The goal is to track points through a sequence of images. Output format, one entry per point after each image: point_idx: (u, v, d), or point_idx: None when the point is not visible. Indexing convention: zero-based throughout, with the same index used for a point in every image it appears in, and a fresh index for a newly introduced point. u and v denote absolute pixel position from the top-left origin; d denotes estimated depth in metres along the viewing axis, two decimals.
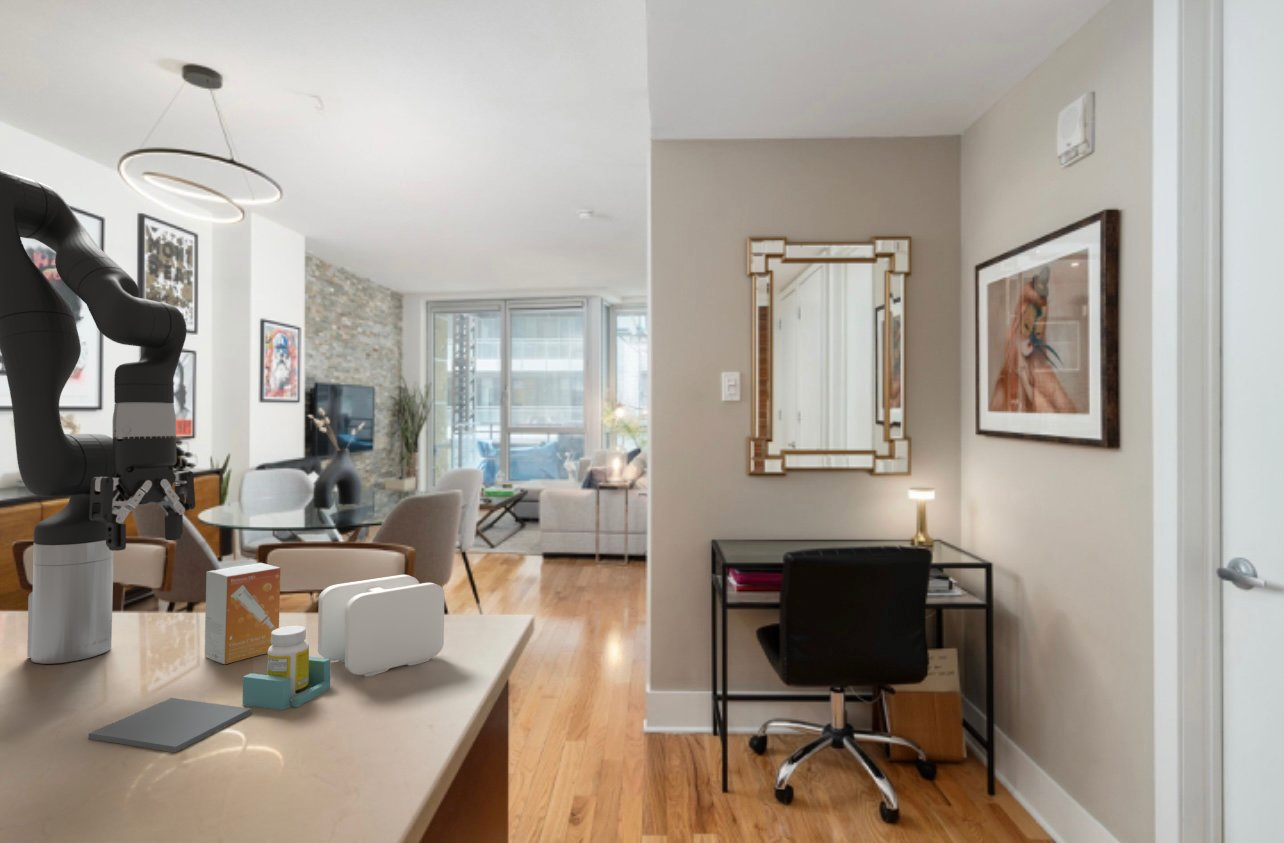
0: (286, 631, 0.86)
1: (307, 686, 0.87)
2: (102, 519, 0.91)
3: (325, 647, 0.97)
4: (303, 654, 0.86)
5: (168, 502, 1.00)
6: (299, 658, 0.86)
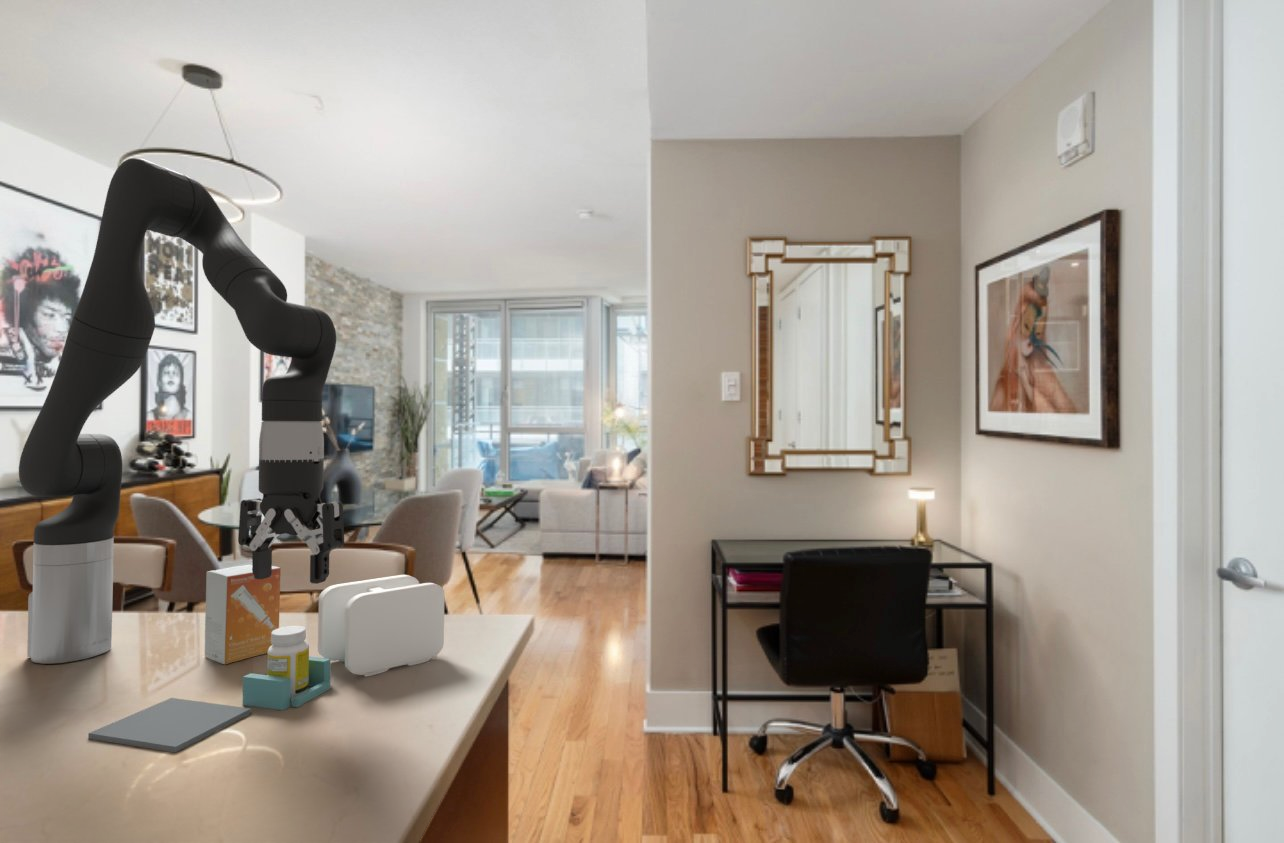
0: (286, 631, 0.86)
1: (307, 686, 0.87)
2: (341, 546, 0.86)
3: (325, 647, 0.97)
4: (303, 654, 0.86)
5: None
6: (299, 658, 0.86)
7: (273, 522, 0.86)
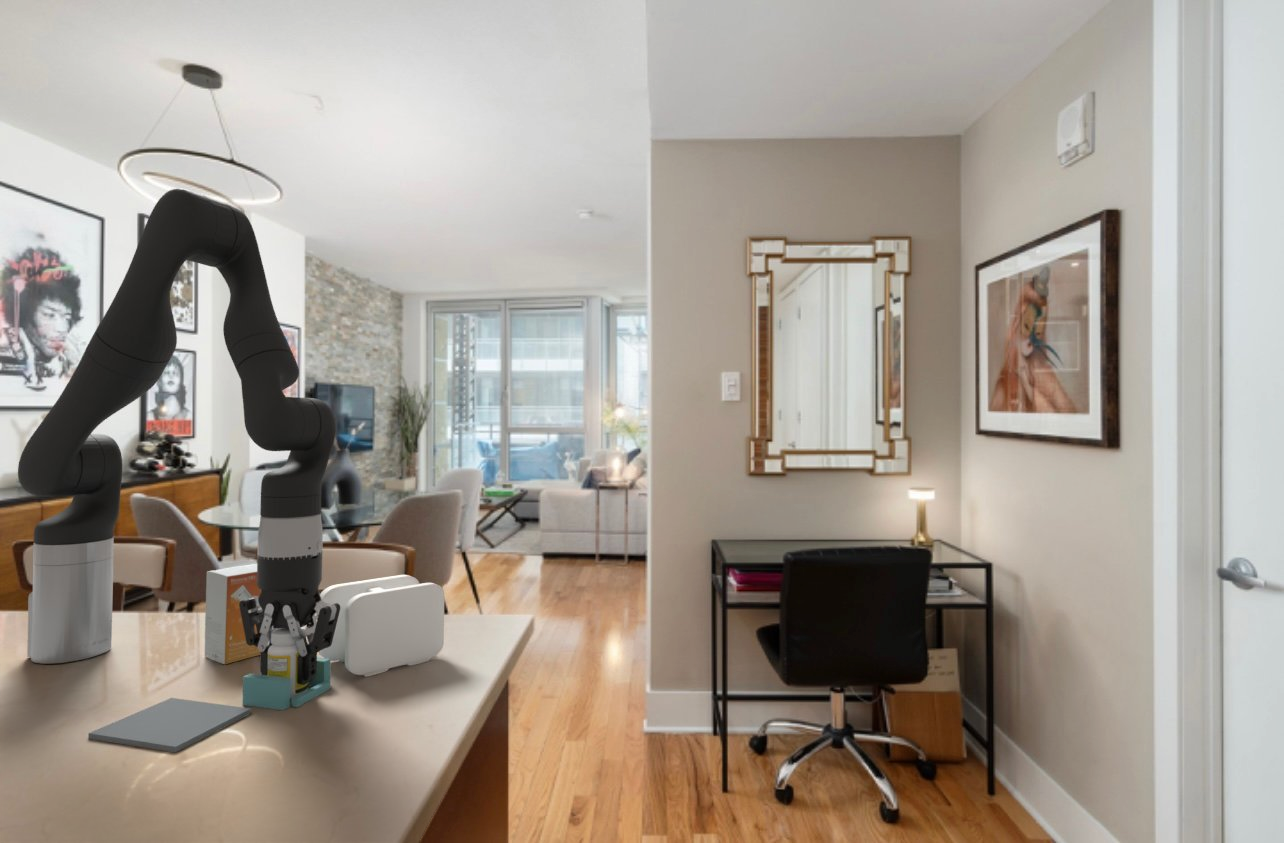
0: (286, 631, 0.86)
1: (307, 686, 0.87)
2: (328, 646, 0.86)
3: None
4: None
5: None
6: None
7: (274, 617, 0.86)
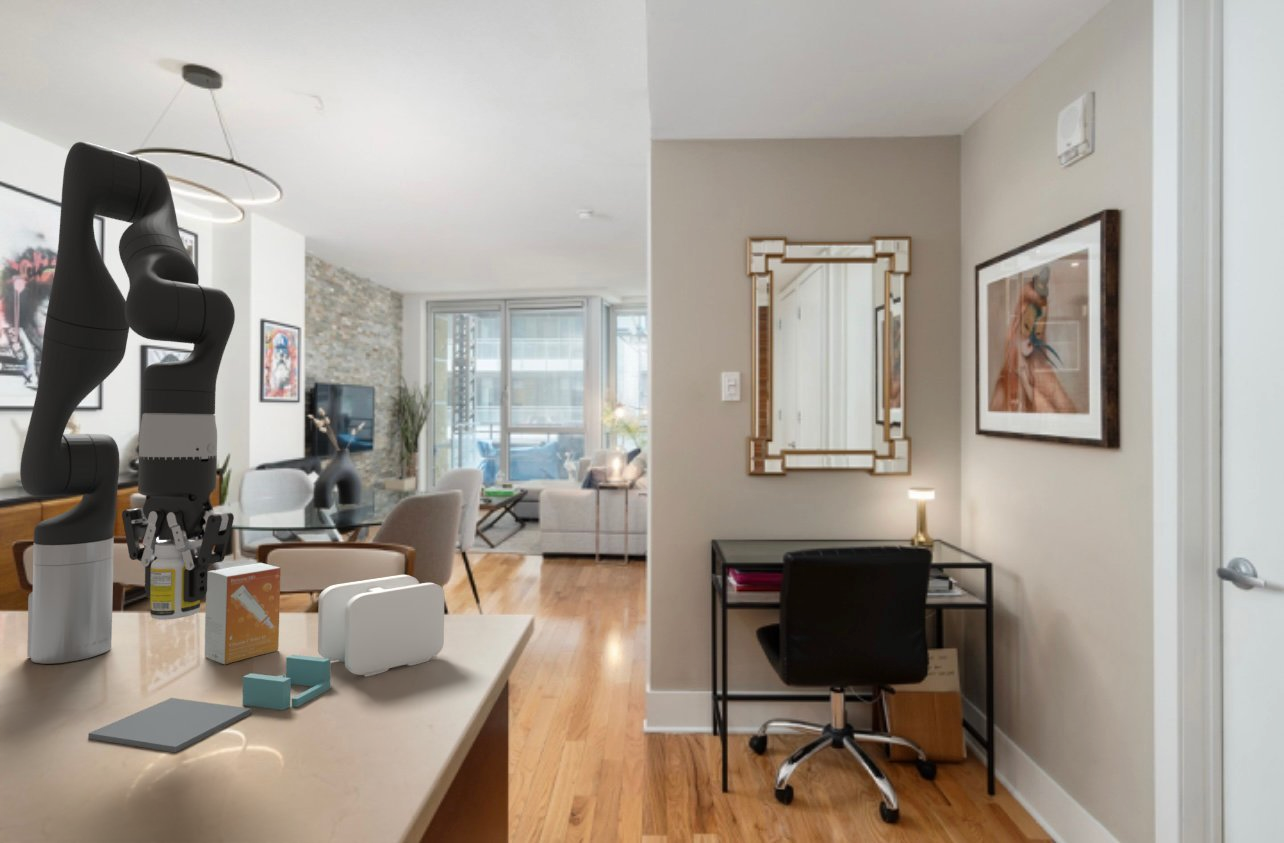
0: (173, 543, 0.77)
1: (197, 605, 0.78)
2: (220, 560, 0.77)
3: (325, 647, 0.97)
4: None
5: None
6: None
7: (159, 527, 0.77)
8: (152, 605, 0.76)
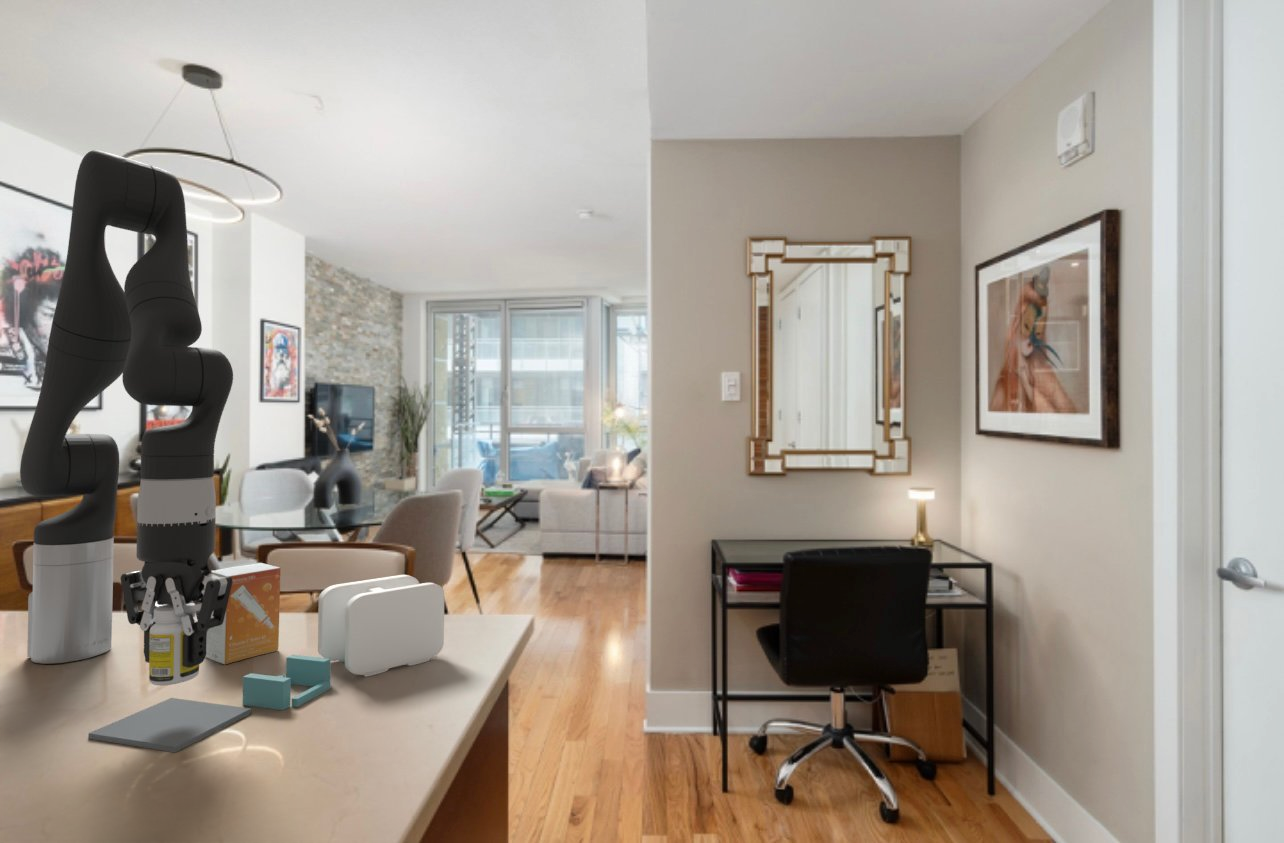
0: (172, 607, 0.77)
1: (196, 669, 0.78)
2: (219, 624, 0.77)
3: (325, 647, 0.97)
4: None
5: None
6: None
7: (158, 592, 0.76)
8: (151, 671, 0.75)
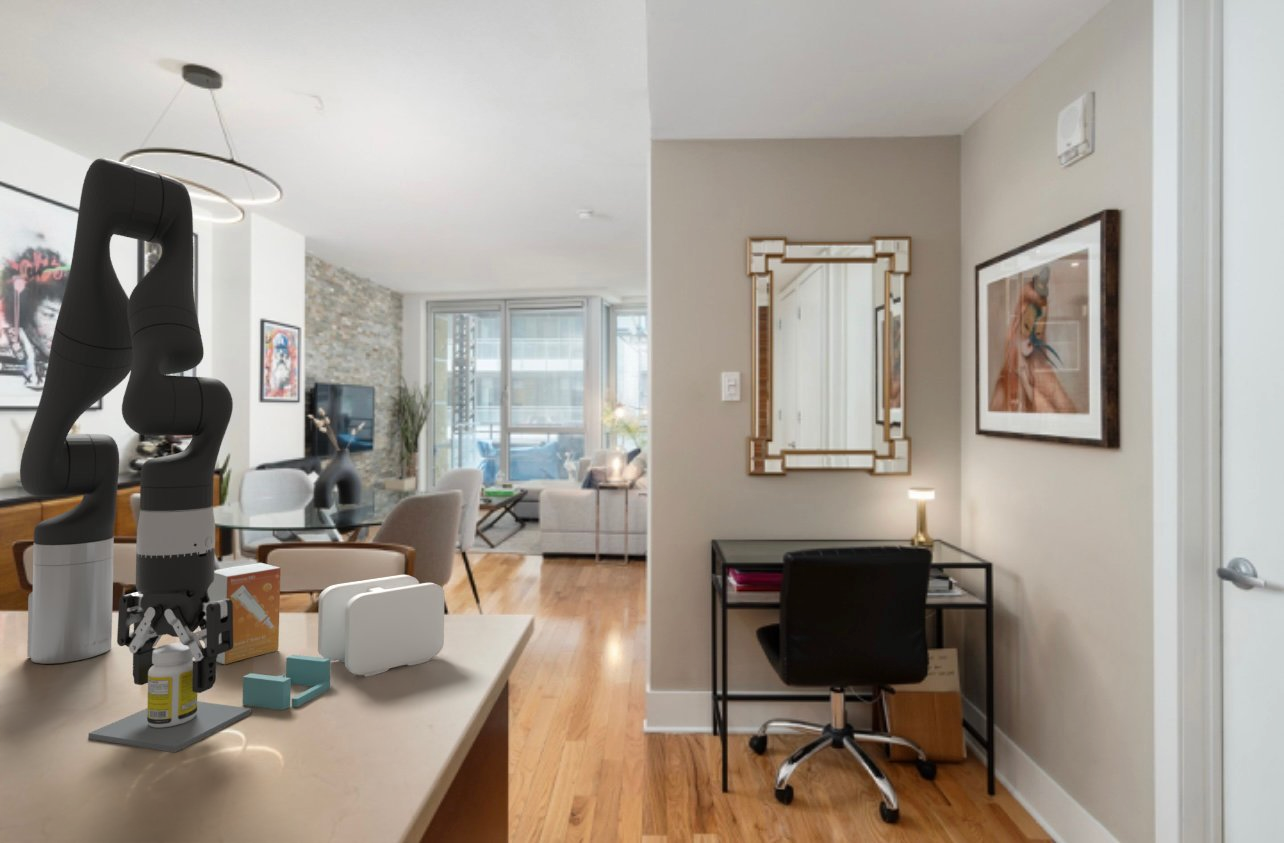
0: (170, 649, 0.77)
1: (194, 710, 0.78)
2: (229, 649, 0.77)
3: (325, 647, 0.97)
4: (188, 675, 0.77)
5: None
6: (184, 679, 0.76)
7: (154, 622, 0.77)
8: (149, 713, 0.75)
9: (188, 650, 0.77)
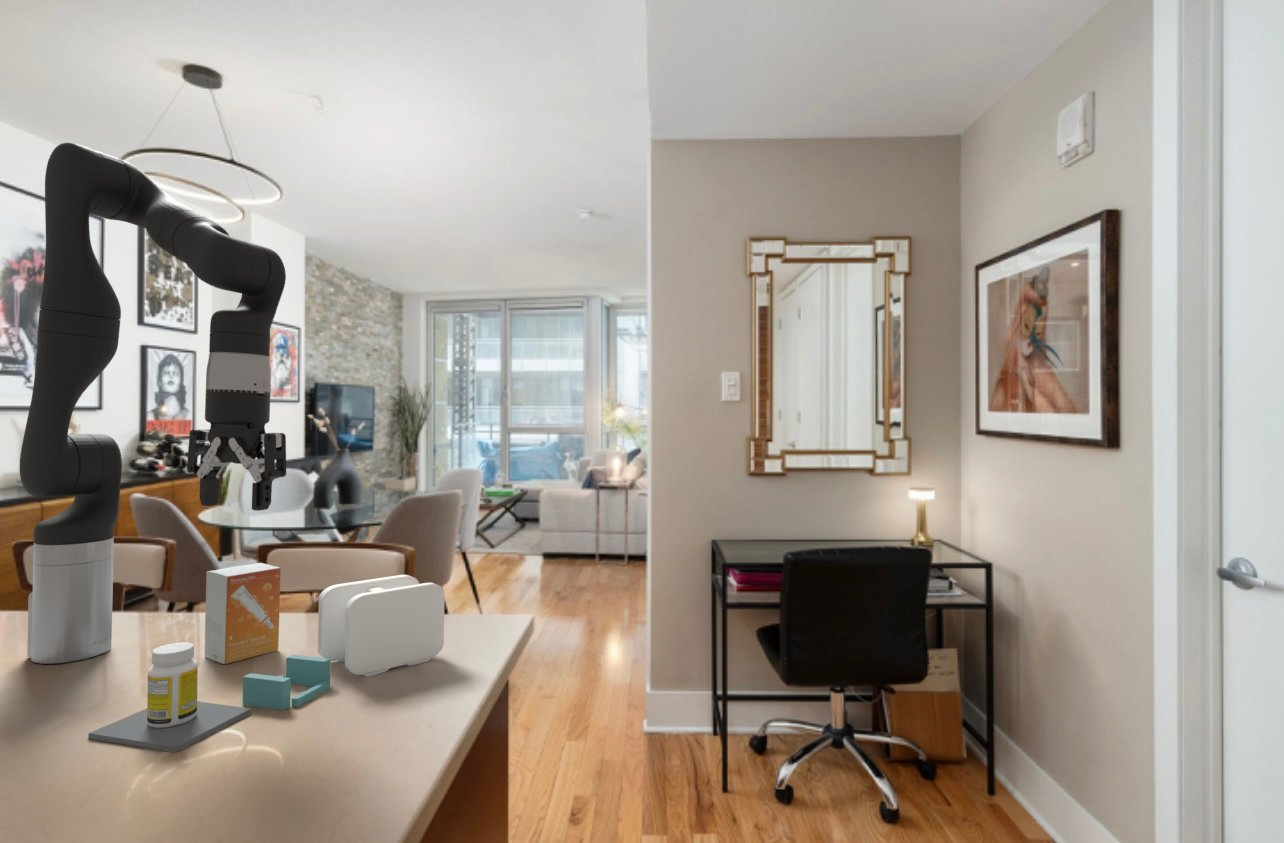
0: (170, 649, 0.77)
1: (194, 710, 0.78)
2: (283, 475, 0.89)
3: (325, 647, 0.97)
4: (188, 675, 0.77)
5: (225, 462, 0.92)
6: (184, 679, 0.76)
7: (219, 451, 0.89)
8: (149, 713, 0.75)
9: (188, 650, 0.77)
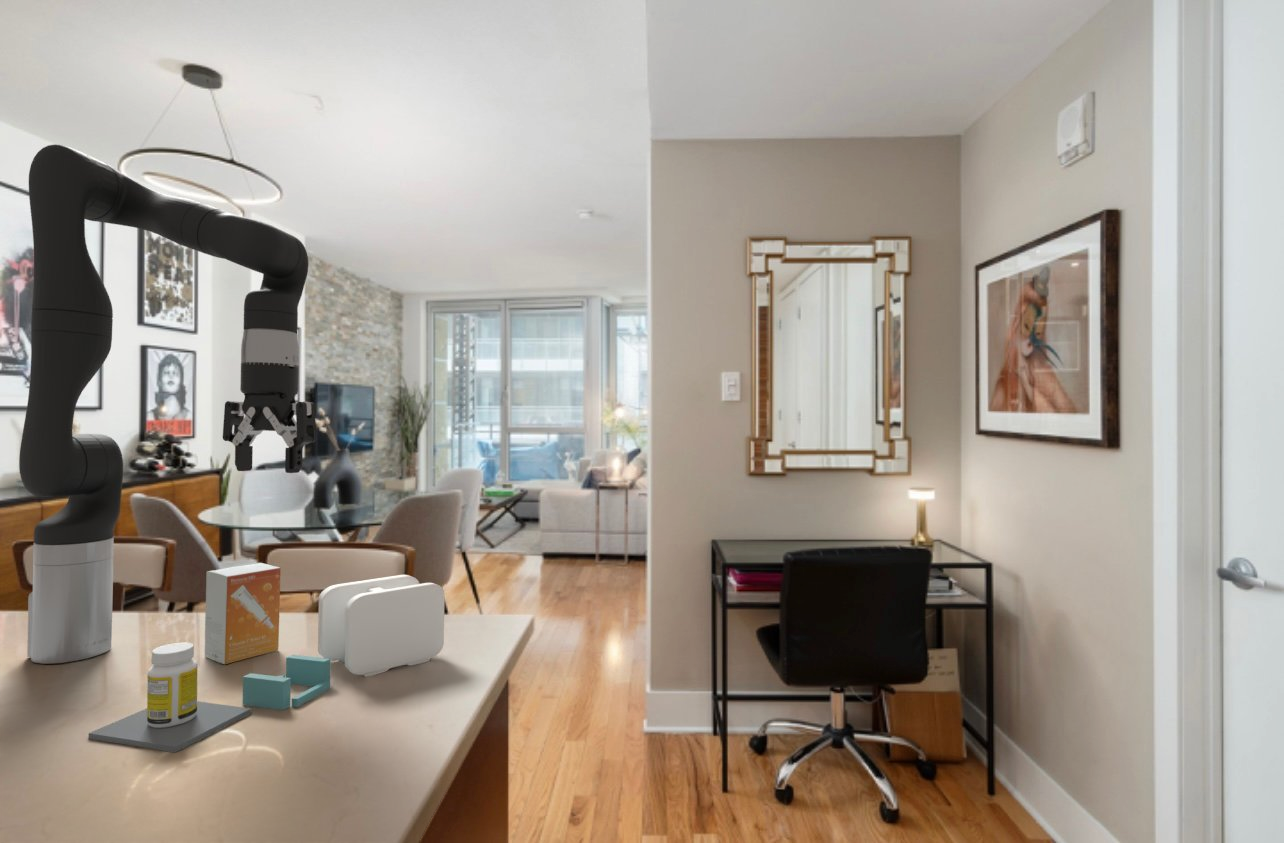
0: (170, 649, 0.77)
1: (194, 710, 0.78)
2: (313, 441, 0.98)
3: (325, 647, 0.97)
4: (188, 675, 0.77)
5: (257, 431, 1.00)
6: (184, 679, 0.76)
7: (253, 420, 0.98)
8: (149, 713, 0.75)
9: (188, 650, 0.77)
